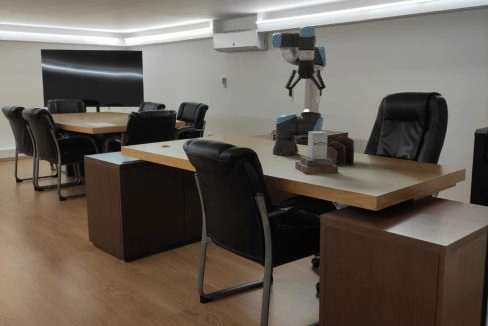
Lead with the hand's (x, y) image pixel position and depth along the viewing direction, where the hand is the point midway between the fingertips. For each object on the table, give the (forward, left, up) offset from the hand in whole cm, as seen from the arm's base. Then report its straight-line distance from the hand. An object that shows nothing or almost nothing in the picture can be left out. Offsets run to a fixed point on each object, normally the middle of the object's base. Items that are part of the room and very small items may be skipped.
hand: (305, 103), depth 238 cm
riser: (+16, +2, -31) cm, 35 cm away
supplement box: (+16, +2, -26) cm, 30 cm away
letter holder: (-4, +20, -32) cm, 38 cm away
